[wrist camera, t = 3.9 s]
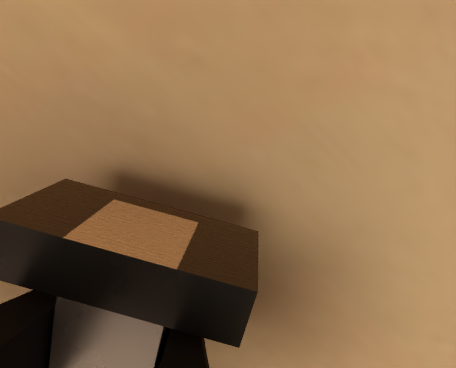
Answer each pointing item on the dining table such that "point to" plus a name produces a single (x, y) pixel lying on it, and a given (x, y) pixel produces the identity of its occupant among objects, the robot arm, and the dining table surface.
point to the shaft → (127, 273)
